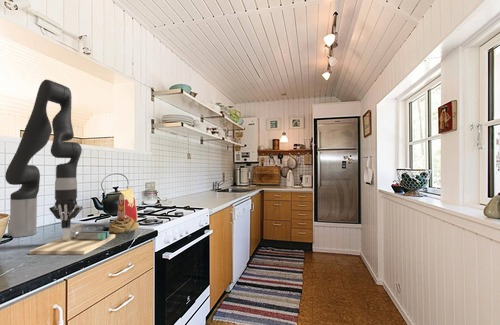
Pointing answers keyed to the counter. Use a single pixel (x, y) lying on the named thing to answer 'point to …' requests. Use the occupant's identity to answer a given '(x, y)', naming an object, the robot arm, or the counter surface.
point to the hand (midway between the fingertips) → (65, 228)
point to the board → (71, 246)
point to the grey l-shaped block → (68, 231)
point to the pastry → (123, 225)
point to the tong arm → (91, 236)
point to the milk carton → (127, 204)
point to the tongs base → (89, 232)
